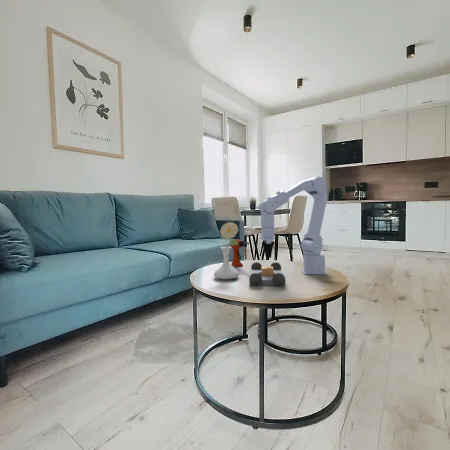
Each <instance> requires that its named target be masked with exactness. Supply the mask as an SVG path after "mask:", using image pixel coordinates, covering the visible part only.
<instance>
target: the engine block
mask: <svg viewBox="0 0 450 450" xmlns="http://www.w3.org/2000/svg"><path fill="white" fill-rule="evenodd" d="M261 270H262V276H273V267H270V266H262V267H261Z"/></svg>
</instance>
